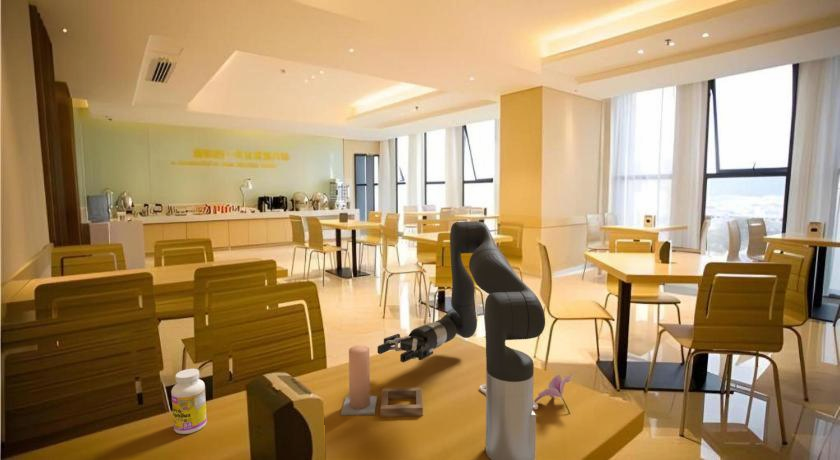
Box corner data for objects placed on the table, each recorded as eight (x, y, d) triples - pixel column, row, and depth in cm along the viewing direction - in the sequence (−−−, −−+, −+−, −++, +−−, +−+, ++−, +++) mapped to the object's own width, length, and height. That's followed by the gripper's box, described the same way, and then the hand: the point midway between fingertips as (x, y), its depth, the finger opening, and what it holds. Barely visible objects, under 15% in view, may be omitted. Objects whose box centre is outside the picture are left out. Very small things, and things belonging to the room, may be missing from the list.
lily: (579, 401, 107) (563, 364, 110) (598, 407, 96) (579, 365, 99) (537, 419, 106) (521, 381, 109) (551, 426, 95) (533, 384, 97)
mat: (377, 397, 108) (377, 395, 108) (374, 414, 100) (374, 412, 100) (345, 398, 108) (345, 396, 108) (340, 415, 100) (340, 413, 100)
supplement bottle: (166, 432, 93) (162, 377, 92) (190, 417, 100) (187, 365, 98) (190, 437, 91) (186, 381, 90) (213, 421, 98) (210, 368, 96)
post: (370, 398, 107) (370, 345, 105) (369, 409, 102) (368, 353, 100) (351, 398, 106) (350, 345, 105) (348, 409, 101) (347, 353, 100)
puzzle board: (421, 394, 109) (421, 387, 109) (422, 415, 99) (422, 407, 99) (383, 395, 109) (383, 388, 109) (380, 416, 99) (380, 408, 99)
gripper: (410, 320, 128) (370, 334, 115) (447, 330, 118) (409, 347, 106) (410, 343, 128) (371, 360, 116) (447, 355, 119) (409, 375, 107)
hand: (389, 354), depth 111 cm, fingers open, 8 cm apart
